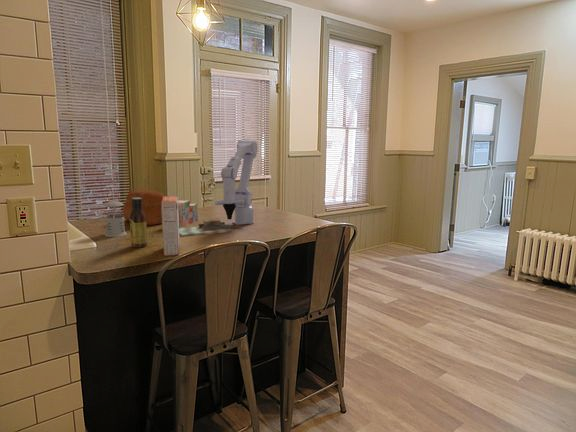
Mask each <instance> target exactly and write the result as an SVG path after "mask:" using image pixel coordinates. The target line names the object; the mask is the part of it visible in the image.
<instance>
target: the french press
mask: <svg viewBox="0 0 576 432" xmlns="http://www.w3.org/2000/svg"><path fill="white" fill-rule="evenodd" d="M109 182H110V183H112V186H114V183H115V182H116V181H115V179H110V181H109ZM112 198H113V199H112V200H111V201H110V200H109V201H108V202H106V203H104V205H103V206H104V207H108V208H110V212H107V213H105V215H106V216H104V220H105V233H104V234H103V236H104V235H105V236H104V237H109V238H113V237H114V238H116V237H117V238H118V237H123V236H126V235H128V233H127V232H126V230H125V218H124V215H123V211H116V208H119V207H122V206H123V207H124V204H125V203H123V202H120V201H118V200H117V201H116V200H115V195H114V192H112ZM112 210H113V211H112Z"/></svg>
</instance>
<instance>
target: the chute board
mask: <svg viewBox="0 0 576 432" xmlns="http://www.w3.org/2000/svg"><path fill="white" fill-rule="evenodd" d="M231 232H233V230H232V229H230V228H229V229H221V230H210V231H203V228H199V226H191V227H182V228H179V236H180V237H188V236H189V237H190V236H200V235H211V234H212V235H213V234H221V233H231Z"/></svg>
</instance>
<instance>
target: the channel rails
mask: <svg viewBox="0 0 576 432" xmlns="http://www.w3.org/2000/svg"><path fill="white" fill-rule="evenodd" d="M220 222H221V225H214V226H204V223H198V227H199V228H203V231H210V230H221V229H230V223H228V224H227V223H225V221H220Z"/></svg>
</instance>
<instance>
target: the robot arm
mask: <svg viewBox="0 0 576 432" xmlns="http://www.w3.org/2000/svg"><path fill="white" fill-rule="evenodd" d="M258 149H259V148H258V142H257V141H256V140H238V141H237V142H236V152H235V154H234V156H231V157H230V159H229V161H228V163H227V164H226V165H225V166H223V168H222V169H221V171H220V176H221V179H222V180H221V181H222V184H223V185H222V186H223V189H222V191H223V196H222V197H223V199H221V200H214V206H222V207H223V210H224V211H225V214H226V217H227V220H232V218H233V215H234V220H233V221H231V223H233V224H235V225H237V226H238V225H250V224H251V225H252V224H255V222H254V208H253V207H252V206H251V205H252V203H253V193H252V191H251V190H249V186H250V185H249V184H250V180H251V179H250V178H251V173H252V169H253V167H252V166H253V163H254V159H256V158H257V154H258V151H259V150H258ZM242 159H243V161H241V160H242ZM242 162H243V163H242ZM241 165H242V168H241V172H240V178H239V183H238V187H237V188H236V179H237V178H238V173H239V169H240V166H241Z"/></svg>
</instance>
